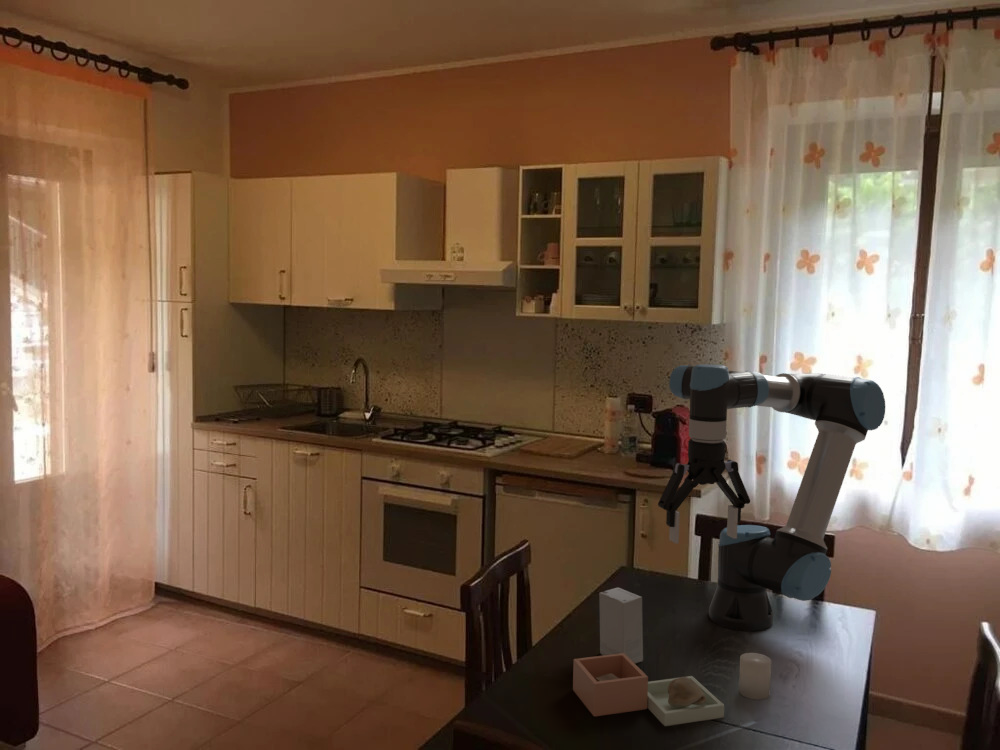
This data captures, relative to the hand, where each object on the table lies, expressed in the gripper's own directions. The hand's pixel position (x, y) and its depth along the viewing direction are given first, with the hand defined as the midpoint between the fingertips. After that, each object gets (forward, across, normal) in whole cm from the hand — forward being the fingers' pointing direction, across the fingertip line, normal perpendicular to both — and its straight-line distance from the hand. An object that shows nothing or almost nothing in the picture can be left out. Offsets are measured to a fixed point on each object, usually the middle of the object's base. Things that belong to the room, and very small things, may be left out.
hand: (703, 539), depth 180 cm
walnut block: (+28, +24, +8) cm, 38 cm away
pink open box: (+29, +24, +8) cm, 38 cm away
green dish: (+29, +12, +14) cm, 34 cm away
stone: (+27, +12, +16) cm, 34 cm away
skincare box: (+29, +14, -9) cm, 33 cm away
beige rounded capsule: (+29, -6, +12) cm, 32 cm away
